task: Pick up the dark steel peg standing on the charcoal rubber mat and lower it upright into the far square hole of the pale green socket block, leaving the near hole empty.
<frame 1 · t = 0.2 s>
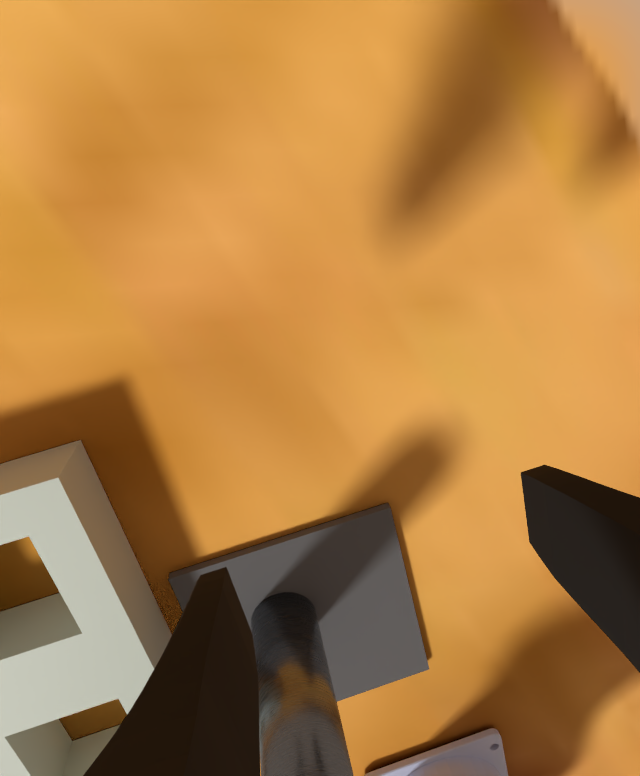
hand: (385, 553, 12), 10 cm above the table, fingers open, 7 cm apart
rubber mat: (308, 621, 25), on the table
steel peg: (283, 619, 24), resting on rubber mat
socket block: (64, 627, 23), on the table
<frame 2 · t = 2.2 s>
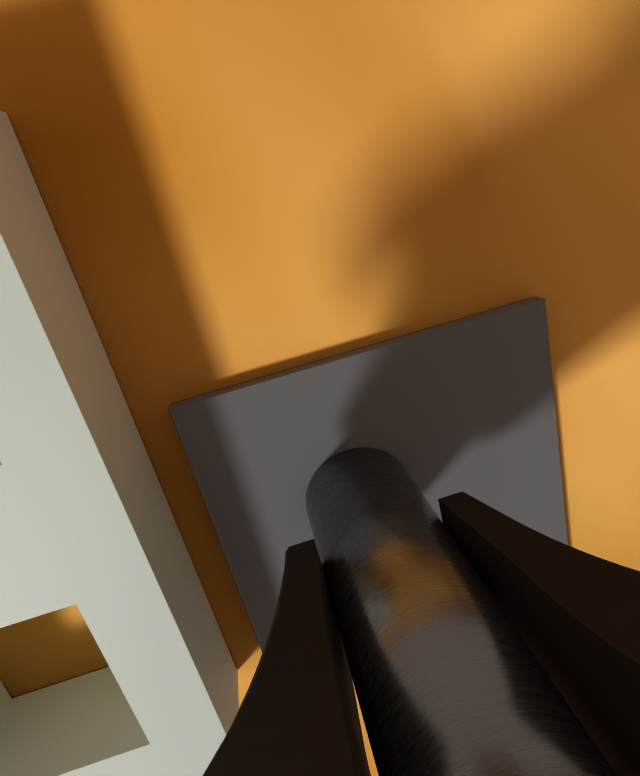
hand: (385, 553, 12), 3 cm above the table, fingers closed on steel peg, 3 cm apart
rubber mat: (395, 507, 16), on the table
steel peg: (358, 496, 15), resting on rubber mat, touching gripper
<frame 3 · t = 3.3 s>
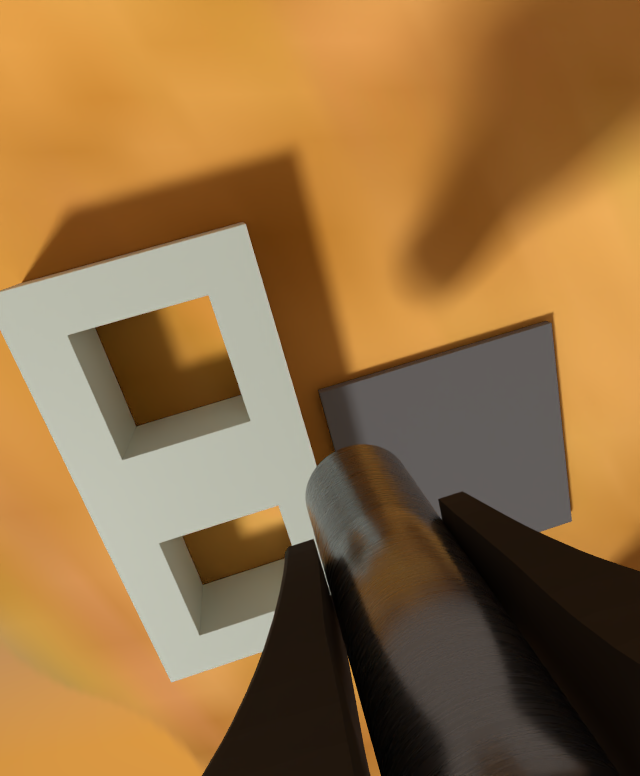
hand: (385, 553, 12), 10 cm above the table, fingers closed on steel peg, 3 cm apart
rubber mat: (453, 458, 24), on the table
steel peg: (358, 492, 15), point 7 cm above the table, touching gripper
socket block: (206, 448, 22), on the table
when the fingers open (4 cm above the table, at t = 5.1 s): steel peg drops 1 cm, resting in socket block.
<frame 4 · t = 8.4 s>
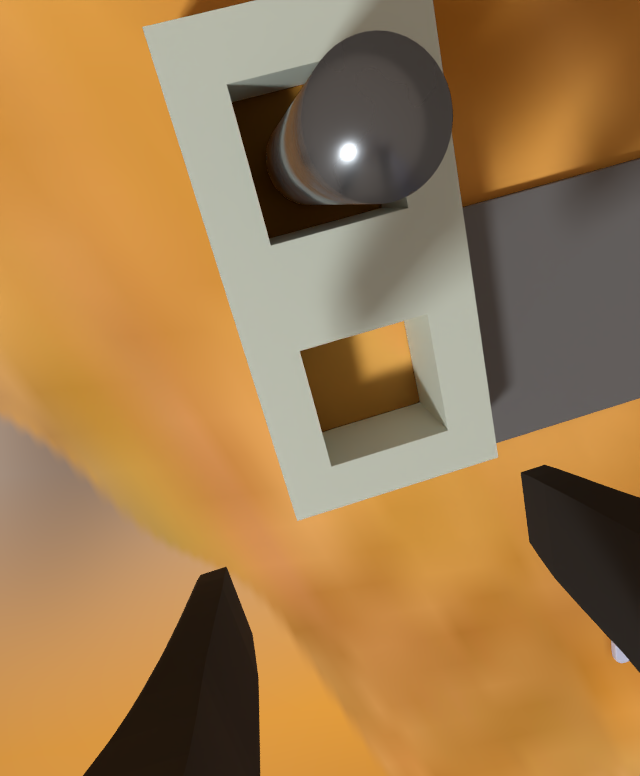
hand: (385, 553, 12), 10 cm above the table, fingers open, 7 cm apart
rubber mat: (585, 300, 22), on the table
steel peg: (308, 159, 19), resting in socket block
socket block: (334, 270, 20), on the table
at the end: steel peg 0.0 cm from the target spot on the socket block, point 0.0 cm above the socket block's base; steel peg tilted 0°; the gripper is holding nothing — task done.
